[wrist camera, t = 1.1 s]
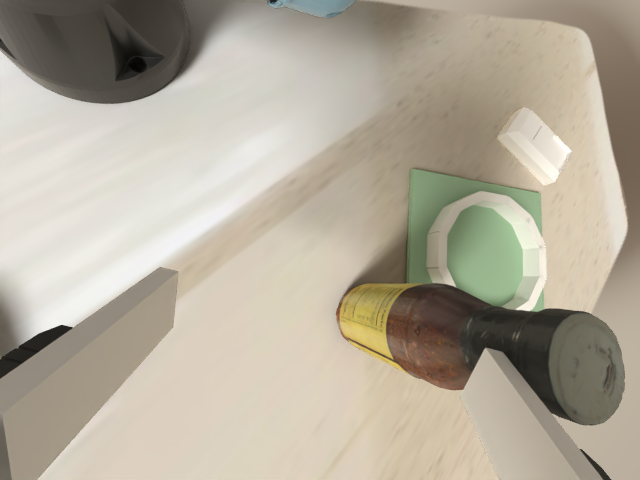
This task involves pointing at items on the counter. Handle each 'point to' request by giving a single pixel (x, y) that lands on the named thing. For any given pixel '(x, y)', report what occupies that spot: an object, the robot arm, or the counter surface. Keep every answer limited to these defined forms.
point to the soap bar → (535, 145)
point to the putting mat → (477, 239)
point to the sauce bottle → (488, 344)
